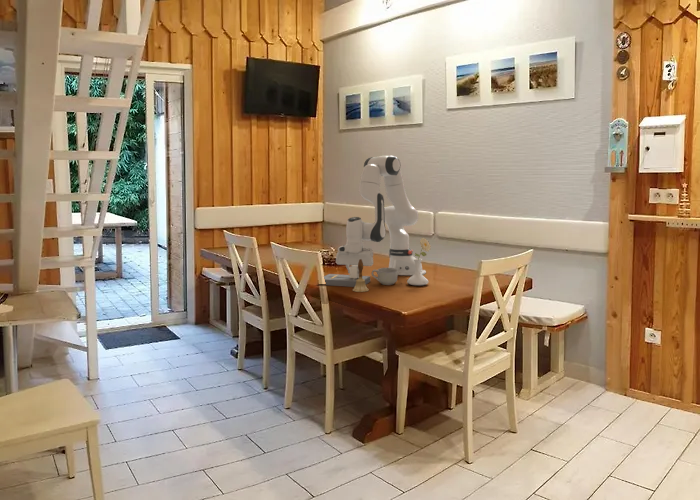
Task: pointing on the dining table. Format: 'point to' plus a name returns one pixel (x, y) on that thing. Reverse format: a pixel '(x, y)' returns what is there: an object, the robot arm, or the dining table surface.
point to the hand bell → (360, 280)
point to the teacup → (386, 275)
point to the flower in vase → (418, 277)
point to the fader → (354, 271)
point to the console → (343, 280)
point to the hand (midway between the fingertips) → (354, 273)
